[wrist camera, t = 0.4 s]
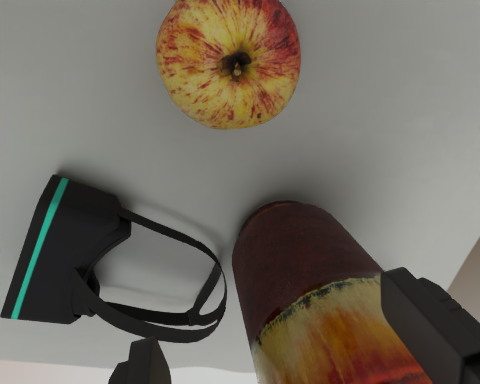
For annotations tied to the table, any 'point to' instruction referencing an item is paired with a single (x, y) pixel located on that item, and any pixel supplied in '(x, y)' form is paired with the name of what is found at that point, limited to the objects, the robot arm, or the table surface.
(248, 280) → the vase
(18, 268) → the virtual reality headset
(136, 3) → the table surface
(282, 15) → the apple
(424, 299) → the robot arm
